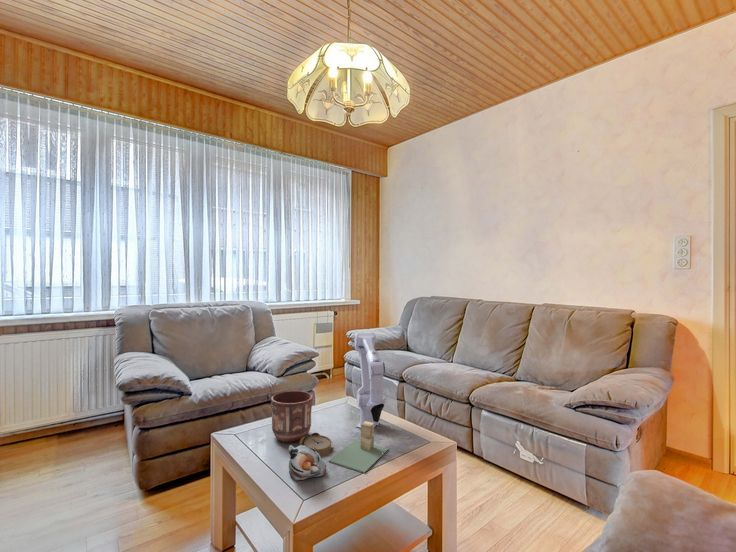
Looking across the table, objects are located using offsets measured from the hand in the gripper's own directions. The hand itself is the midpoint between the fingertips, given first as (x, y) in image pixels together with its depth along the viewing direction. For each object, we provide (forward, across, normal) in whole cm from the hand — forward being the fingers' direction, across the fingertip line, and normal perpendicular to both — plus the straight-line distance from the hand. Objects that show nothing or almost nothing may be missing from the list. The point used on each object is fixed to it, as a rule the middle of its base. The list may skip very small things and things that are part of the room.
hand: (376, 421), depth 155 cm
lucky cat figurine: (+9, -35, +9) cm, 37 cm away
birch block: (+8, -8, 0) cm, 11 cm away
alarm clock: (+9, -18, +19) cm, 28 cm away
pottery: (+9, -15, +34) cm, 38 cm away
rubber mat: (+9, -14, 0) cm, 16 cm away
